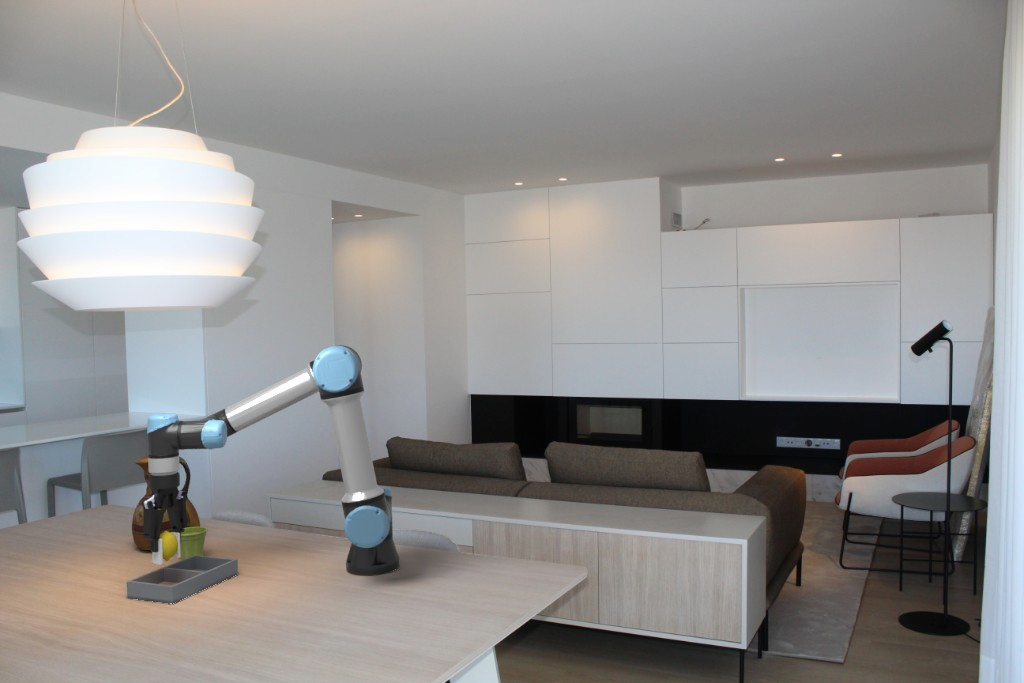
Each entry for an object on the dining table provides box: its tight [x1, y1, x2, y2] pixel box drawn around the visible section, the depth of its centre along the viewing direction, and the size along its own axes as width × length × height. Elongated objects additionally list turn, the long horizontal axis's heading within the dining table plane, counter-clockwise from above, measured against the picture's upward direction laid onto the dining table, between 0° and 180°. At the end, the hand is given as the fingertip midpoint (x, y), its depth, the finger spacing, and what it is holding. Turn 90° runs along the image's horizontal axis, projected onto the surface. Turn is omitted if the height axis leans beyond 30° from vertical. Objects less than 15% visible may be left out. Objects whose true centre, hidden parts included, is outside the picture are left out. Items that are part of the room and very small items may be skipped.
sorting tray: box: [126, 555, 239, 605], centre depth 221 cm, size 15×25×4 cm, turn 159°
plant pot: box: [180, 526, 208, 561], centre depth 247 cm, size 9×9×9 cm
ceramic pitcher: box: [131, 455, 201, 551], centre depth 262 cm, size 20×20×30 cm
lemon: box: [159, 531, 178, 562], centre depth 215 cm, size 6×6×8 cm
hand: (166, 560), depth 215 cm, fingers closed on lemon, 5 cm apart
